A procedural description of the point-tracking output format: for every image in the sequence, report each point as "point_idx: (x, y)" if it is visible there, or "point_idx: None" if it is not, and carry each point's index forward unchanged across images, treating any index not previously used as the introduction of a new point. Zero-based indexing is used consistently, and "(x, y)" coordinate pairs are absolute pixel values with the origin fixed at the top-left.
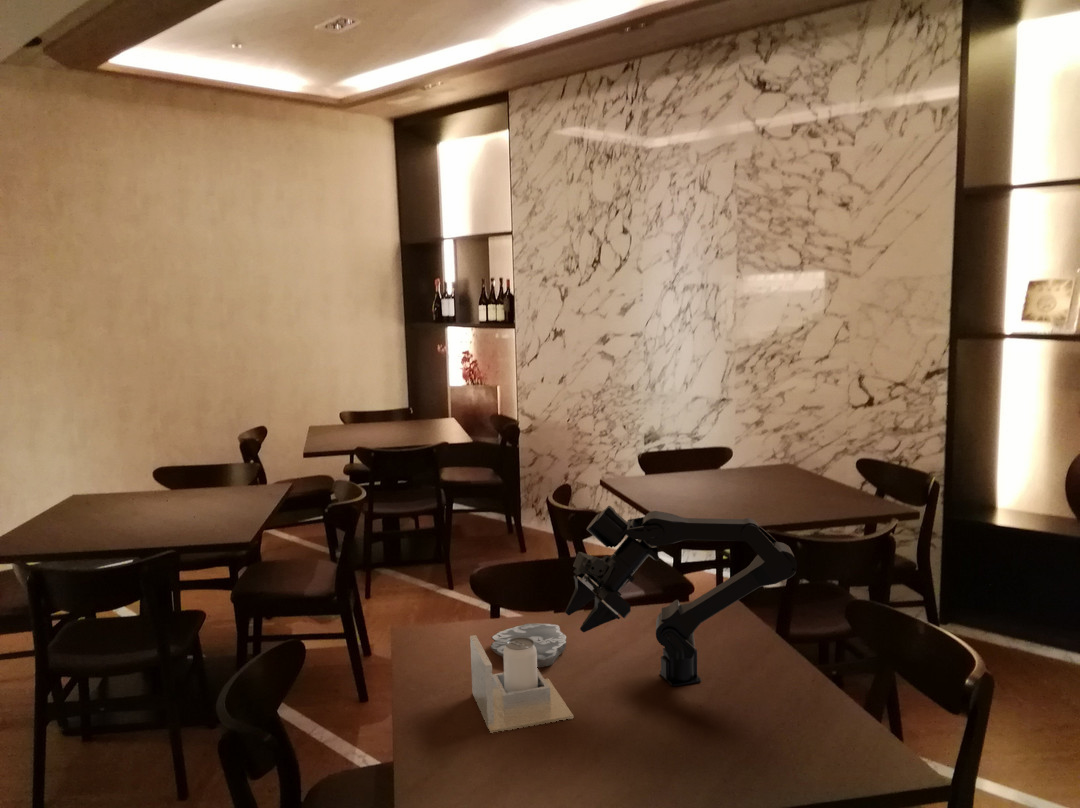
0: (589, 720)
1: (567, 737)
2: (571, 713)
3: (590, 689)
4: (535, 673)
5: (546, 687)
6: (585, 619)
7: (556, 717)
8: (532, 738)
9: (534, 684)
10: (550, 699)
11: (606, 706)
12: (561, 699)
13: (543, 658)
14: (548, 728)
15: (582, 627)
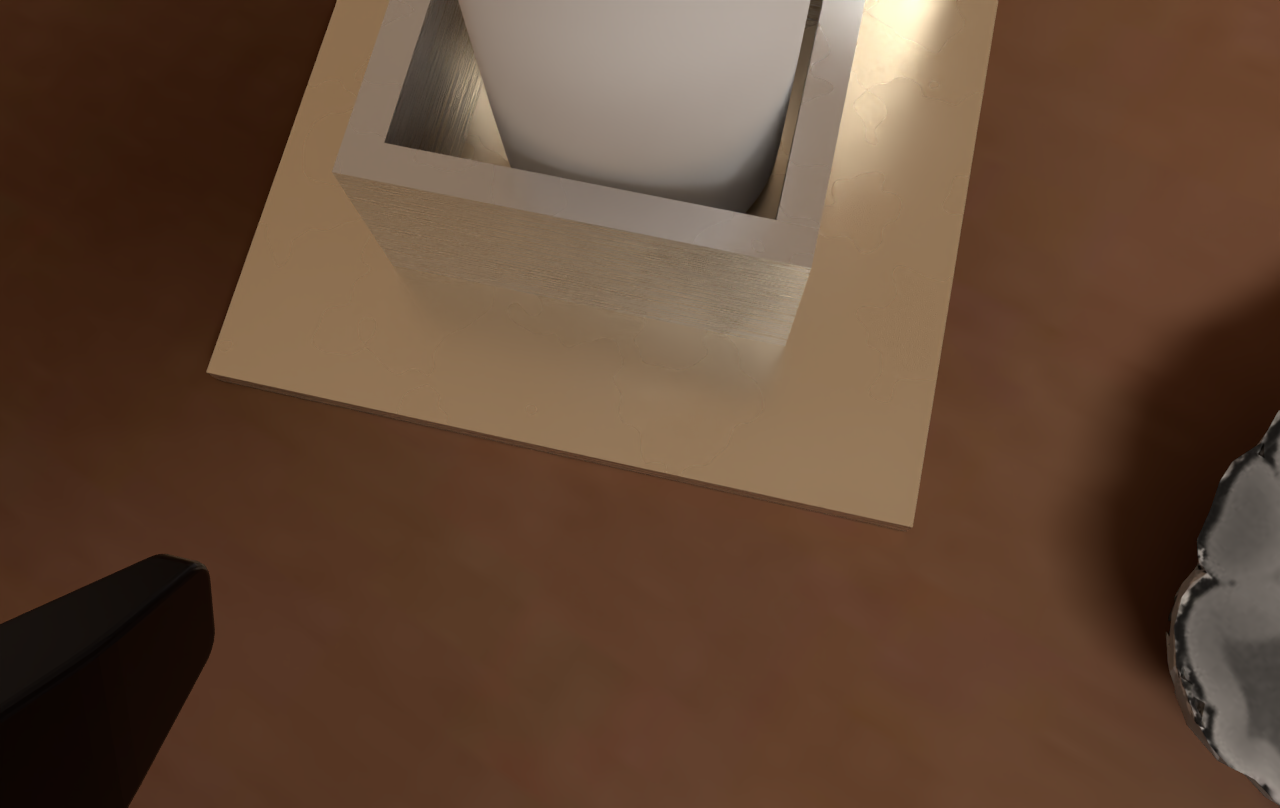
0: (115, 473)
1: (35, 210)
2: (241, 375)
3: (551, 792)
4: (481, 45)
5: (356, 145)
6: (8, 696)
7: (266, 246)
8: (186, 14)
9: (486, 87)
10: (544, 346)
11: (202, 733)
12: (490, 425)
13: (1203, 599)
14: (224, 158)
15: (107, 586)
